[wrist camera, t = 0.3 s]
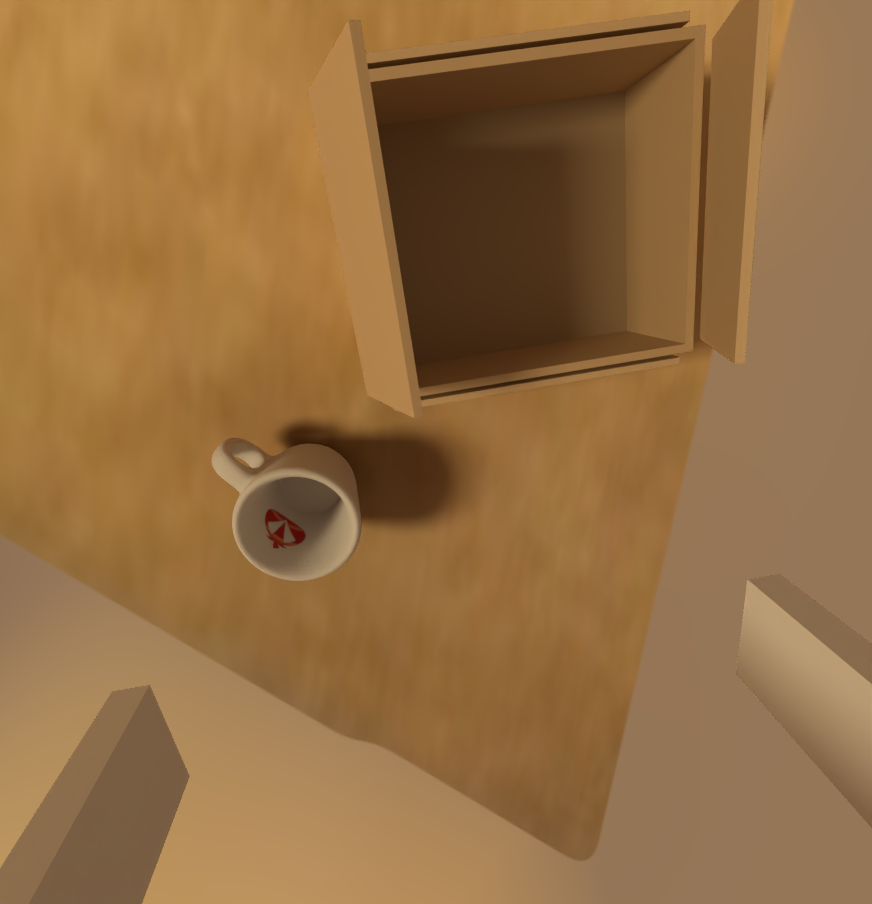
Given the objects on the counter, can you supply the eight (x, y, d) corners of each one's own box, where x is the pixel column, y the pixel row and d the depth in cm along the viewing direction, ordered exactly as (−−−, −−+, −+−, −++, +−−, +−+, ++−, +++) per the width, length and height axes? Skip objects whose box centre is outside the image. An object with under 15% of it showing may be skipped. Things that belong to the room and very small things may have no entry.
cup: (206, 465, 37) (163, 513, 30) (268, 385, 36) (239, 414, 28) (324, 542, 40) (311, 603, 33) (385, 471, 39) (386, 518, 31)
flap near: (307, 92, 23) (348, 19, 17) (316, 92, 23) (360, 20, 17) (367, 394, 28) (414, 418, 22) (374, 393, 28) (423, 416, 22)
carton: (331, 111, 30) (315, 57, 23) (628, 70, 31) (706, 6, 24) (382, 385, 37) (382, 414, 29) (630, 345, 37) (692, 362, 30)
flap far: (712, 39, 24) (761, -31, 18) (722, 36, 24) (775, -35, 18) (699, 339, 29) (734, 363, 23) (707, 338, 29) (745, 362, 23)
